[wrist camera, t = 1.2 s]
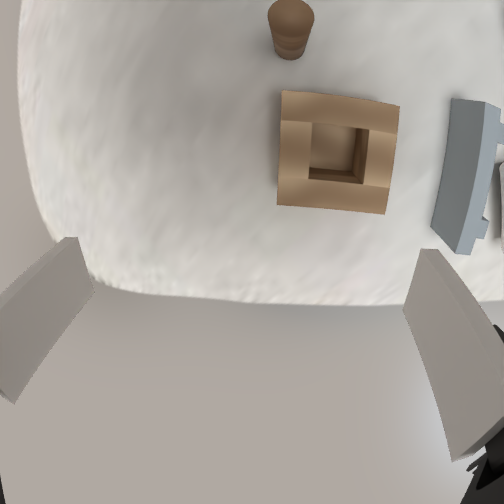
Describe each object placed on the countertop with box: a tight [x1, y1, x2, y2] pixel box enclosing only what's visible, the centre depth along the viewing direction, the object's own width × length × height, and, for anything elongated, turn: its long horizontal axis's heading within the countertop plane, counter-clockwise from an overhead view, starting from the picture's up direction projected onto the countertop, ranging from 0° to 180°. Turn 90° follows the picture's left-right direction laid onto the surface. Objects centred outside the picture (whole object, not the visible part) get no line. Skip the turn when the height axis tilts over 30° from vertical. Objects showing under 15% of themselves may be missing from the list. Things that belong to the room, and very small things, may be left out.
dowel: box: [268, 0, 314, 60], centre depth 16 cm, size 3×3×10 cm
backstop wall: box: [430, 99, 504, 255], centre depth 21 cm, size 14×5×6 cm, turn 179°
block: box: [277, 90, 400, 215], centre depth 22 cm, size 9×9×5 cm
